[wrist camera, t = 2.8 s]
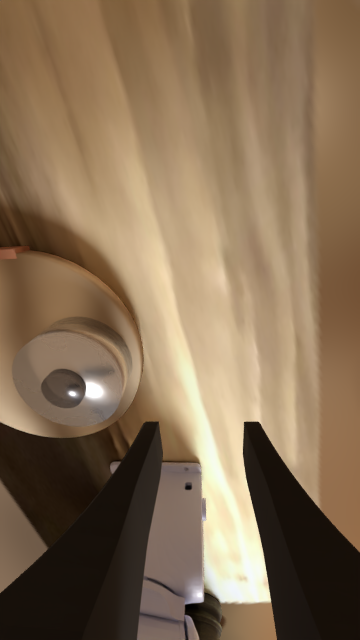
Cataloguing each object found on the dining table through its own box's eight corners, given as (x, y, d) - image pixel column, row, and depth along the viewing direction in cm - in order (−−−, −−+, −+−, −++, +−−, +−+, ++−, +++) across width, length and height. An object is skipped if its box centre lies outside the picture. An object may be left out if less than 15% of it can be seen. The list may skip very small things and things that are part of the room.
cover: (124, 314, 17) (106, 340, 14) (138, 396, 20) (126, 433, 17) (26, 318, 18) (-13, 343, 14) (53, 397, 20) (26, 433, 17)
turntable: (126, 239, 16) (120, 241, 15) (154, 424, 23) (151, 438, 22) (-94, 253, 18) (-118, 257, 16) (-9, 424, 24) (-22, 437, 23)
